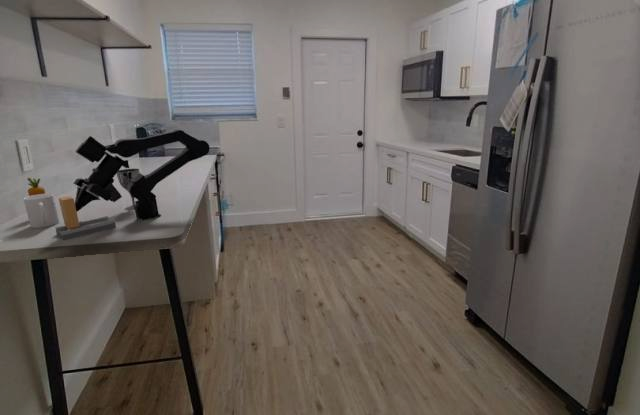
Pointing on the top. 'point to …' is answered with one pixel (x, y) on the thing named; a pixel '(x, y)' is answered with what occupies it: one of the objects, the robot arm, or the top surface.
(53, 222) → the cup
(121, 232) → the top surface
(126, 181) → the wine glass
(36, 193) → the carrot
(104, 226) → the rail
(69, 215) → the fader tab
